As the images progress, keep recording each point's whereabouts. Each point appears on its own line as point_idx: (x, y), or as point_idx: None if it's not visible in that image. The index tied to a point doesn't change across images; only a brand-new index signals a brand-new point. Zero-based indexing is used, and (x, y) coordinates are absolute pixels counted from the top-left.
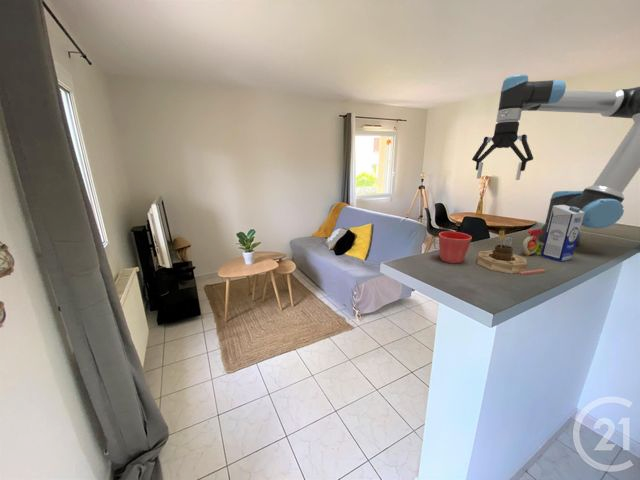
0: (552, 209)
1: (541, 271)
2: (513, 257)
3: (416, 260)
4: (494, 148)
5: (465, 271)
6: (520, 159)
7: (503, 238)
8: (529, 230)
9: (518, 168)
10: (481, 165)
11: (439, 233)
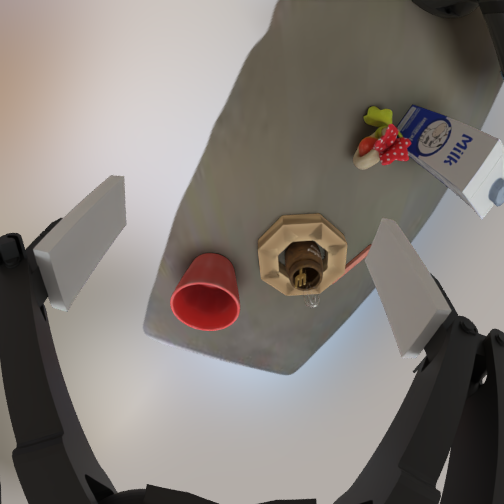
0: (456, 187)
1: (366, 254)
2: (325, 249)
3: (166, 303)
4: (85, 463)
5: (249, 308)
6: (415, 377)
7: (304, 275)
8: (380, 143)
9: (391, 317)
10: (75, 272)
11: (172, 310)
